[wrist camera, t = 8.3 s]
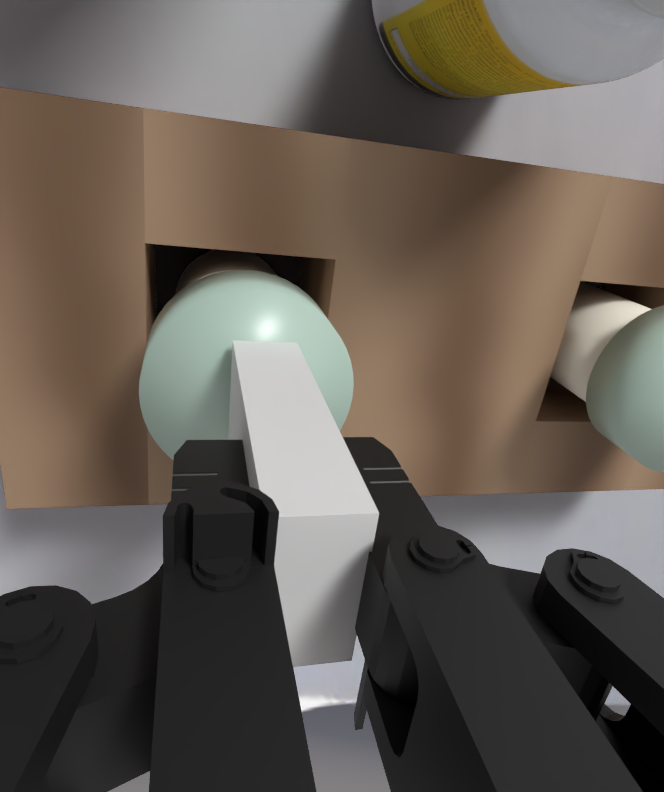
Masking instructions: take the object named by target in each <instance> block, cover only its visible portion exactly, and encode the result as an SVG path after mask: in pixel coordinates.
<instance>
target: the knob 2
mask: <svg viewBox="0 0 664 792" xmlns="http://www.w3.org/2000/svg"><path fill="white" fill-rule="evenodd" d="M550 377H551V378H552V379H554V380H555V381H556V382H558V383H559V384H561V385H562V386H564V387H565V388H566V389H568V390H569V391H571V392H572V393H574V394H575V395H576V396H578V397H579V398H581V399H582V400H584V401H585V402H586V407H587V412H588V416H589V419H590V421H591V423H592V424H593V426H594V427H595V429H596V430H597V431H598V432H599V433H601V434H602V435H603V436H604V437H606V438H607V439H608V440H610V441H611V442H612V443H614V444H615V445H616V446H618V447H619V448H620V449H622V450H623V451H624V452H626V453H627V454H628V455H630V456H631V457H632V458H634V459H635V460H636V461H638V462H639V463H640V464H642V465H643V466H645V467H646V468H648V469H651V470H653V471H658V472H664V305H663V306H659V307H656V308H654V309H650V308H648V307H645V306H643V305H640V304H638V303H635V302H633V301H630V300H627V299H625V298H622V297H620V296H617V295H615V294H612V293H610V292H607V291H605V290H602V289H600V288H597V287H595V286H592V285H590V284H587V283H585V282H582V281H580V284H579V287H578V290H577V293H576V296H575V300H574V303H573V306H572V309H571V312H570V315H569V318H568V322H567V325H566V328H565V331H564V334H563V337H562V340H561V344H560V347H559V350H558V353H557V356H556V359H555V362H554V366H553V369H552V372H551V375H550Z"/></svg>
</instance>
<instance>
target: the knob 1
mask: <svg viewBox="0 0 664 792" xmlns="http://www.w3.org/2000/svg"><path fill="white" fill-rule="evenodd" d="M233 340H235V341H261V342H286V343H297V344H298V346H299V348H300V350H301V352H302V354H303V356H304V358H305V360H306V362H307V364H308V367H309V369H310V371H311V373H312V375H313V377H314V379H315V381H316V383H317V385H318V387H319V389H320V391H321V393H322V396H323V398H324V400H325V402H326V404H327V406H328V408H329V410H330V412H331V414H332V416H333V418H334V420H335V422H336V425H337V427H338V429H339V431H340V430H341V428H342V426H343V424H344V422H345V420H346V418H347V415H348V412H349V410H350V406H351V402H352V397H353V387H354V381H353V370H352V364H351V360H350V357H349V354H348V351H347V348H346V347H345V345H344V343H343V341H342V339H341V337H340V336H339V334H338V333H337V331H336V330H335V329H334V327H333V326H332V324H331V323H330V321H329V320H328V319H327V317H326V316H325V314H324V313H323V312H322V310H321V309H320V307H319V306H318V305H317V303H316V302H315V301H314V300H313V299H312V298H311V297H310V296H309V295H308V294H307V293H306V292H304V291H303V290H302V289H301V288H299V287H298V286H296V285H295V284H293V283H291V282H289V281H288V280H285V279H283V278H281V277H278V276H277V275H276V273H275V272H274V270H273V269H272V268H271V267H270V266H269V265H268V264H267V263H266V262H265V261H264V260H263V259H261V258H260V257H258V256H257V255H255V254H253V253H250V252H241V251H229V250H218V249H217V250H213V251H210V252H207V253H205V254H203V255H201V256H199V257H198V258H197V259H195V260H194V261H193V262H192V263H191V264H190V265H189V266H188V267H187V268H186V269H185V271H184V272H183V274H182V275H181V277H180V279H179V282H178V284H177V288H176V293H175V296H174V297H173V298H172V299H171V300H170V301H169V302H168V303H167V304H166V305H165V306H164V308H163V309H162V310H161V312H160V313H159V314H158V316H157V318H156V320H155V322H154V324H153V326H152V328H151V331H150V334H149V336H148V341H147V346H146V351H145V355H144V360H143V365H142V370H141V375H140V380H139V400H140V407H141V411H142V415H143V419H144V421H145V424H146V426H147V428H148V430H149V432H150V434H151V435H152V437H153V439H154V440H155V442H156V443H157V444H158V445H159V447H160V448H161V449H162V450H163V451H164V452H165V453H166V454H167V455H168V456H169V457H170V458H171V459H172V460H174V454H175V453H176V452H177V451H178V450H179V448H180V447H181V446H182V445H183V444H184V443H185V441H186V440H228V429H229V407H230V386H231V364H232V343H233Z"/></svg>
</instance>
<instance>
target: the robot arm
mask: <svg viewBox="0 0 664 792" xmlns="http://www.w3.org/2000/svg"><path fill="white" fill-rule="evenodd" d="M356 634H357V636H358V639H359V642H360V645H361V648H362V652H363V655H364V658H365V663H364V668H363V673H362V678H361V682H360V687H359V692H358V697H357V702H356V707H355V712H354V721H355V730H358V729H362V728H363V723H364V719H365V714H366V710H367V712H368V715H369V718H370V721H371V725H372V729H373V732H374V735H375V738H376V742H377V746H378V749H379V752H380V756H381V759H382V763H383V766H384V769H385V773H386V776H387V780H388V783H389V786H390V790H391V792H664V598H663V597H661V596H660V595H659V594H657V593H656V592H655V591H654V590H652V589H651V588H650V587H648V586H647V585H646V584H644V583H643V582H642V581H641V580H639V579H638V578H637V577H635V576H634V575H633V574H631V573H630V572H629V571H628V570H626V569H624V568H623V567H621V566H620V565H618V564H616V563H615V562H613V561H612V560H610V559H608V558H605V557H603V556H600V555H597V554H595V553H592V552H589V551H583V550H578V549H562V550H556V551H554V552H553V553H551V554H550V555H548V556H547V557H546V560H545V563H544V566H543V568H542V571H541V574H538V573H533V572H527V571H522V570H516V569H510V568H505V567H499V566H495V565H492V564H489V563H488V562H487V560H486V559H485V557H484V556H483V554H482V553H481V552H480V551H479V550H478V548H477V547H476V546H475V545H474V544H473V543H472V542H471V541H470V540H468V539H467V538H465V537H463V536H462V535H460V534H458V533H457V532H455V531H453V530H450V529H446V528H443V527H440V526H438V525H437V524H436V522H435V520H434V519H433V517H432V515H431V514H430V512H429V511H428V509H427V507H426V506H425V504H424V502H423V501H422V499H421V498H420V496H419V494H418V493H417V491H416V490H415V488H414V486H413V485H412V483H409V478H408V477H407V475H406V473H405V472H404V470H403V469H401V465H400V464H399V462H398V460H397V459H396V457H395V455H394V454H393V452H392V451H391V450H390V449H389V448H387V447H386V446H385V445H383V444H382V443H381V442H379V441H378V440H377V439H375V438H374V437H342V435H341V433H340V431H339V429H338V427H337V425H336V422H335V420H334V418H333V416H332V414H331V412H330V410H329V408H328V406H327V404H326V402H325V400H324V398H323V396H322V393H321V391H320V389H319V387H318V385H317V383H316V381H315V379H314V377H313V375H312V373H311V371H310V369H309V367H308V364H307V362H306V360H305V358H304V356H303V354H302V352H301V350H300V348H299V346H298V344H297V343H286V342H261V341H235V340H233V343H232V364H231V386H230V407H229V429H228V440H186V441H185V443H184V444H183V445H182V446H181V447H180V448H179V450H178V451H177V452H176V453H175V454H174V461H173V476H172V492H171V501H170V502H169V503H168V505H167V508H166V510H165V513H164V515H163V564H162V566H161V567H160V569H159V570H158V572H157V573H155V574H154V575H153V576H152V577H151V578H150V579H149V580H148V581H147V582H145V583H144V584H142V585H140V586H139V587H137V588H136V589H134V590H132V591H129V592H127V593H124V594H122V595H120V596H117V597H114V598H111V599H108V600H105V601H101V602H98V603H95V604H92V605H91V603H90V602H89V601H88V600H87V599H86V598H84V597H83V596H82V595H81V594H80V593H78V592H77V591H74V590H71V589H67V588H63V587H59V586H32V587H28V588H24V589H20V590H17V591H13V592H10V593H6V594H3V595H2V596H0V792H107V791H109V790H112V789H114V788H115V787H118V786H119V785H122V784H124V783H126V782H128V781H130V780H132V779H134V778H136V777H138V776H140V775H142V774H144V773H146V772H148V771H150V784H149V792H316V788H315V783H314V777H313V772H312V766H311V761H310V756H309V750H308V746H307V740H306V735H305V729H304V723H303V718H302V713H301V707H300V702H299V697H298V691H297V686H296V681H295V675H294V670H293V667H297V666H306V665H315V664H324V663H333V662H342V661H351V660H352V656H353V650H354V645H355V640H356ZM612 686H613V687H614V688H615V689H617V690H618V691H619V692H620V693H621V694H622V695H623V696H624V697H625V698H626V699H627V700H628V701H629V702H630V703H631V705H630V707H629V710H628V712H627V713H626V715H625V716H623V715H620V714H618V713H615V712H614V711H612V710H611V709H610V708H609V707H607V706H606V705H605V704H604V703H605V701H606V699H607V697H608V694H609V692H610V690H611V688H612Z"/></svg>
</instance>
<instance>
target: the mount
mask: <svg viewBox="0 0 664 792" xmlns="http://www.w3.org/2000/svg"><path fill="white" fill-rule="evenodd" d="M156 244H159V245H171V246H183V247H194V248H206V249H218V250H229V251H241V252H252V253H264V254H276V255H287V256H299V257H303V259H302V269H301V279H300V288H301V289H302V290H303V291H304V292H306V293H307V294H308V295H309V296H310V297H311V298H312V299H313V300H314V301H315V302H316V303H317V305H318V306H319V307H320V309H321V310H322V312H323V313H324V314H325V316H326V317H327V319H328V320H329V321H330V323H331V324H332V326H333V327H334V329H335V330H336V331H337V333H338V334H339V336H340V337H341V339H342V341H343V343H344V345H345V347H346V348H347V351H348V354H349V357H350V360H351V364H352V370H353V381H354V387H353V397H352V402H351V406H350V410H349V412H348V415H347V418H346V420H345V422H344V424H343V426H342V428H341V430H340V433H341V435H342V437H374V438H375V439H377V440H378V441H379V442H381V443H382V444H383V445H385V446H386V447H387V448H389V449H390V450H391V451H392V452H393V454H394V455H395V457H396V459H397V460H398V462H399V464H400V465H401V469H403V470H404V472H405V473H406V475H407V477H408V478H409V483H412V485H413V486H414V488H415V490H416V491H417V493H418V494H419V496H445V495H478V494H511V493H544V492H577V491H610V490H643V489H664V472H658V471H653V470H651V469H648V468H646V467H645V466H643V465H642V464H640V463H639V462H638V461H636V460H635V459H634V458H632V457H631V456H630V455H628V454H627V453H626V452H624V451H623V450H622V449H620V448H619V447H618V446H616V445H615V444H614V443H612V442H611V441H610V440H608V439H607V438H606V437H604V436H603V435H602V434H601V433H599V432H598V431H597V430H596V429H595V427H594V426H593V424H592V423H591V421H590V419H589V416H588V412H587V407H586V402H585V401H584V400H582V399H581V398H579V397H578V396H576V395H575V394H574V393H572V392H571V391H569V390H568V389H566V388H565V387H564V386H562V385H561V384H559V383H558V382H556V381H555V380H554V379H552V378H551V377H550V375H551V372H552V369H553V366H554V362H555V359H556V356H557V353H558V350H559V347H560V344H561V340H562V337H563V334H564V331H565V328H566V325H567V322H568V318H569V315H570V312H571V309H572V306H573V303H574V300H575V296H576V293H577V290H578V287H579V284H580V281H590V282H601V283H607V284H606V287H605V291H607V292H610V293H612V294H615V295H617V296H620V297H622V298H625V299H627V300H630V301H633V302H635V303H638V304H640V305H643V306H645V307H648V308H650V309H654V308H656V307H659V306H663V305H664V184H660V183H653V182H646V181H639V180H632V179H625V178H619V177H612V176H605V175H598V174H591V173H584V172H577V171H571V170H564V169H557V168H550V167H543V166H536V165H530V164H523V163H516V162H509V161H502V160H495V159H488V158H482V157H475V156H468V155H461V154H454V153H447V152H441V151H434V150H427V149H420V148H413V147H406V146H399V145H393V144H386V143H379V142H372V141H365V140H358V139H351V138H345V137H338V136H331V135H324V134H317V133H310V132H304V131H297V130H290V129H283V128H276V127H269V126H262V125H256V124H249V123H242V122H235V121H228V120H221V119H214V118H208V117H201V116H194V115H187V114H180V113H173V112H167V111H160V110H153V109H146V108H139V107H132V106H125V105H119V104H112V103H105V102H98V101H91V100H84V99H78V98H71V97H64V96H57V95H50V94H43V93H36V92H30V91H23V90H16V89H9V88H2V87H0V466H1V473H2V480H3V487H4V494H5V501H6V508H7V509H17V508H50V507H83V506H116V505H149V504H168V503H169V502H170V501H171V492H172V476H173V461H174V460H172V459H171V458H170V457H169V456H168V455H167V454H166V453H165V452H164V451H163V450H162V449H161V448H160V447H159V445H158V444H157V443H156V442H155V440H154V439H153V437H152V435H151V434H150V432H149V430H148V428H147V426H146V424H145V421H144V419H143V415H142V411H141V407H140V400H139V380H140V375H141V370H142V365H143V360H144V355H145V351H146V346H147V341H148V336H149V334H150V331H151V328H152V326H153V324H154V322H155V320H156Z"/></svg>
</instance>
